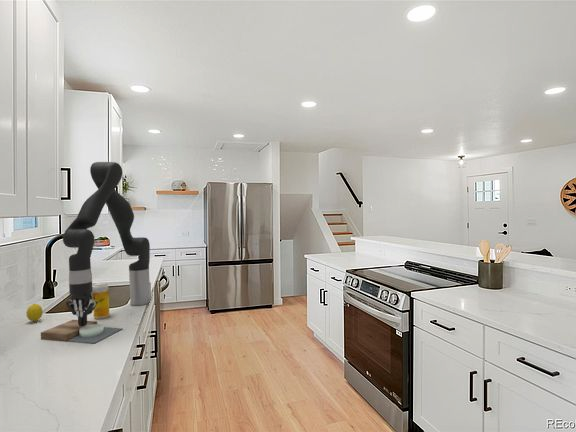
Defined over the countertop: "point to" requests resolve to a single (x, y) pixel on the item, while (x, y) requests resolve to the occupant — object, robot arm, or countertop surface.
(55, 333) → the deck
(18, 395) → the countertop surface
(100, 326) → the pale green rounded disc
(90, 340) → the mat
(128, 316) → the countertop surface
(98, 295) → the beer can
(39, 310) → the lemon
